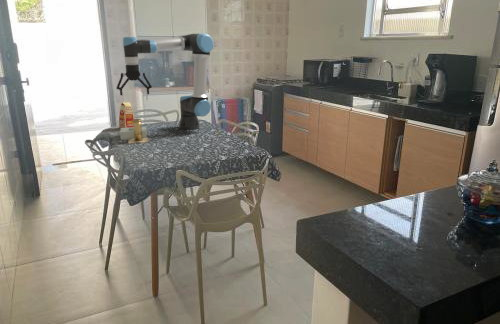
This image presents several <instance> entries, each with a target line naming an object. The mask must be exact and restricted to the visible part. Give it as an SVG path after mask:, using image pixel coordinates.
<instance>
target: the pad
mask: <svg viewBox="0 0 500 324" xmlns="http://www.w3.org/2000/svg"><path fill="white" fill-rule="evenodd" d="M149 141H150V139H149V137H147V138H143V140H142V141H135V139H128V145H131V143H132V144H142V143H143V144H145V143H149Z"/></svg>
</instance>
